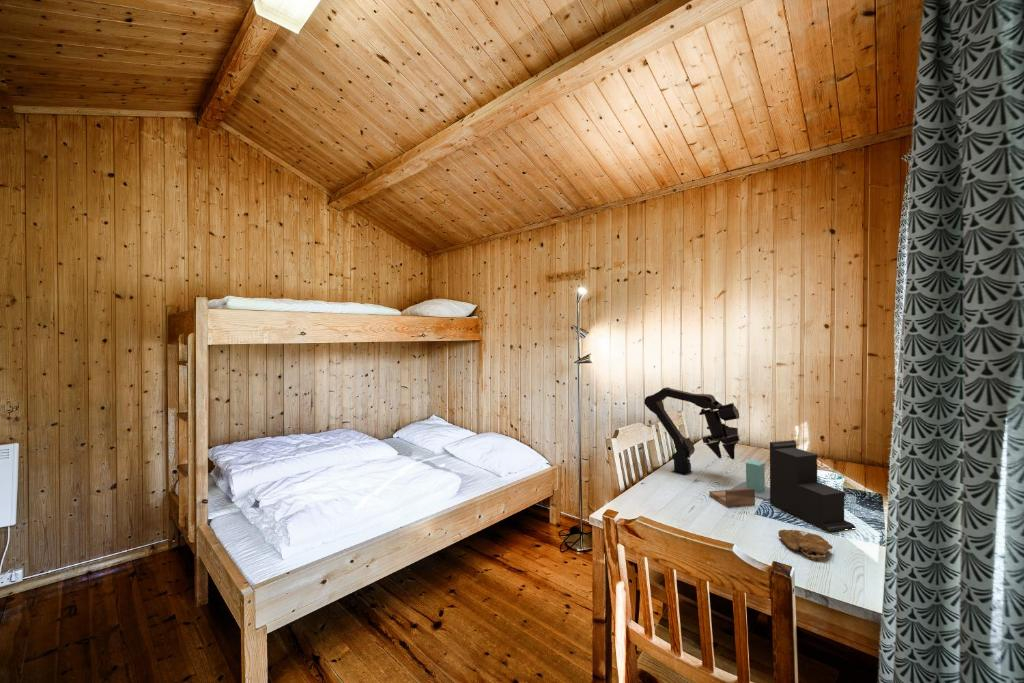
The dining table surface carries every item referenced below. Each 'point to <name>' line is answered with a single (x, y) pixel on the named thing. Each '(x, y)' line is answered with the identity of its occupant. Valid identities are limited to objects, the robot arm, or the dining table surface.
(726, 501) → the walnut ledge
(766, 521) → the dining table surface
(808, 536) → the decorative rock
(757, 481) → the teal block
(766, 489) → the slate mat
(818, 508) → the bookend
